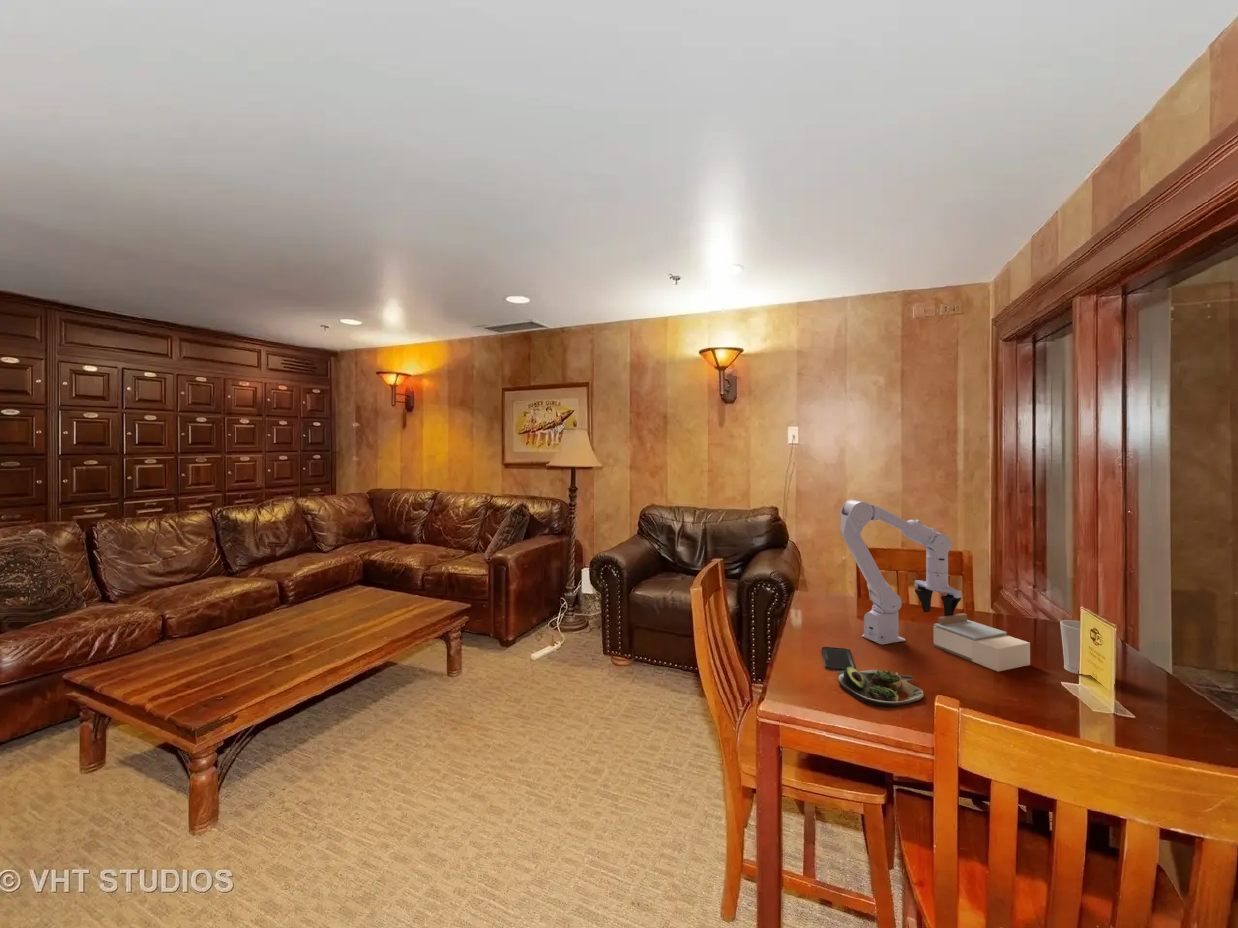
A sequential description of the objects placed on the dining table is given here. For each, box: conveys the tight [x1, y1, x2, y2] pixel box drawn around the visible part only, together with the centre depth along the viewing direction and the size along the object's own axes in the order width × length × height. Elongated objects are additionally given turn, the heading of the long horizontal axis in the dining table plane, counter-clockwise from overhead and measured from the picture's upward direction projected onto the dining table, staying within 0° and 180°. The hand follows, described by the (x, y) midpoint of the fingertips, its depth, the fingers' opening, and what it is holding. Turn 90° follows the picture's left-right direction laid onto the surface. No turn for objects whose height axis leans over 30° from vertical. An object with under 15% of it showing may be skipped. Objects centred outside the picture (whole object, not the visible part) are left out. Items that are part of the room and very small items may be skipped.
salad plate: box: [834, 667, 925, 708], centre depth 128 cm, size 19×18×5 cm
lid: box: [933, 612, 1008, 640], centre depth 150 cm, size 12×12×2 cm
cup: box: [1059, 619, 1081, 675], centre depth 135 cm, size 8×8×12 cm
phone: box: [821, 646, 857, 672], centre depth 146 cm, size 8×1×15 cm
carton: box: [932, 625, 1031, 672], centre depth 147 cm, size 12×19×6 cm, turn 18°
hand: (937, 615), depth 159 cm, fingers open, 7 cm apart
